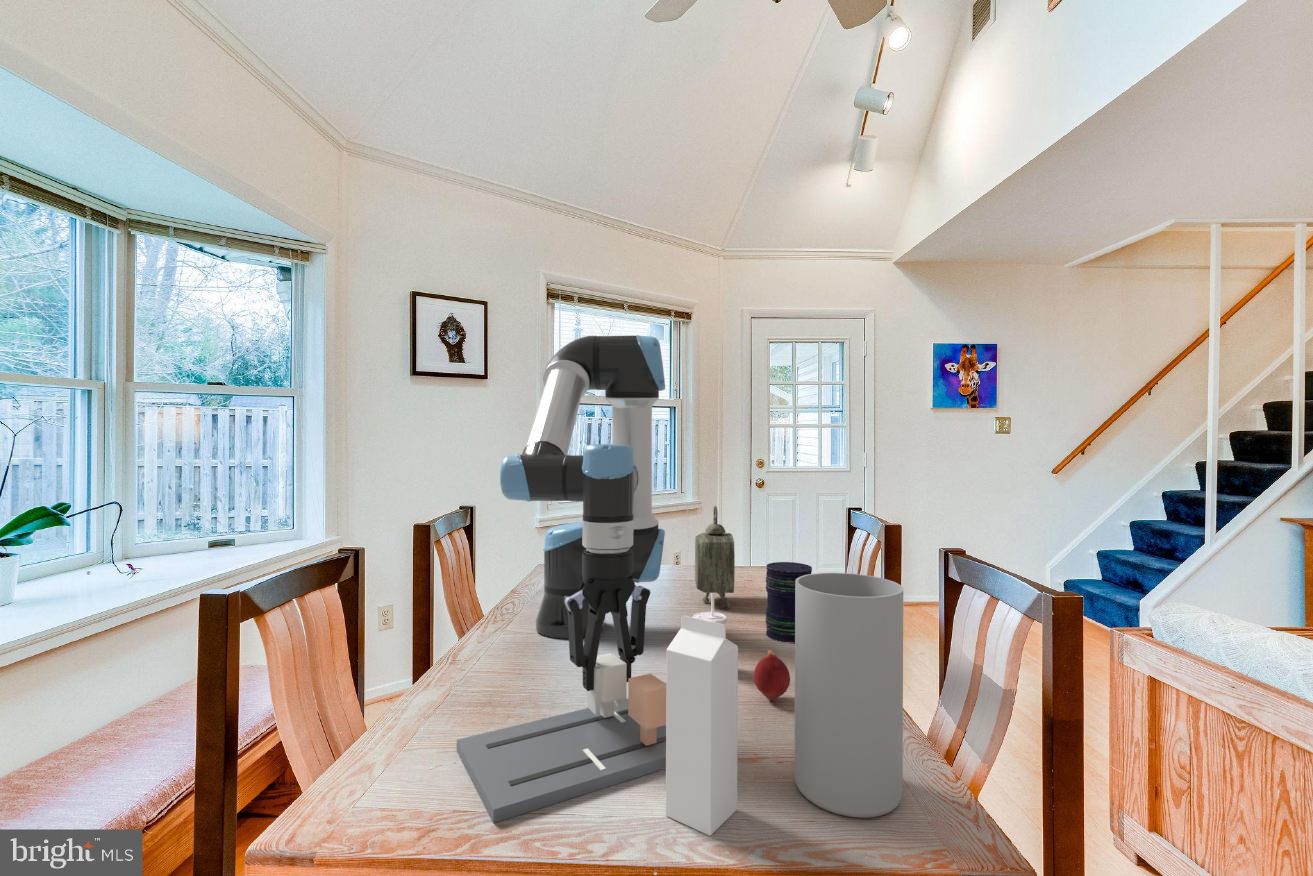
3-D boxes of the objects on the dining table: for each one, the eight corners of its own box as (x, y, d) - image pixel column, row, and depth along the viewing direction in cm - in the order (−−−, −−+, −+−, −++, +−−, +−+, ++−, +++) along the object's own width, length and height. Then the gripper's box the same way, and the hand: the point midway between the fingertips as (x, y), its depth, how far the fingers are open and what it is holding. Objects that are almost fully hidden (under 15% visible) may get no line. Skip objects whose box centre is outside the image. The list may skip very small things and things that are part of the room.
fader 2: (628, 737, 83) (628, 678, 83) (650, 730, 85) (650, 673, 85) (646, 753, 79) (646, 691, 79) (669, 746, 81) (669, 686, 81)
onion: (791, 695, 101) (791, 647, 101) (787, 710, 96) (787, 659, 96) (756, 690, 103) (757, 643, 103) (750, 704, 98) (750, 654, 98)
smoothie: (725, 676, 109) (725, 598, 109) (689, 673, 110) (690, 596, 110) (728, 663, 115) (728, 589, 115) (694, 661, 117) (694, 587, 117)
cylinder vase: (846, 834, 66) (847, 602, 66) (773, 776, 77) (774, 578, 77) (925, 802, 72) (926, 589, 72) (847, 753, 83) (848, 569, 83)
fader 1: (589, 710, 91) (589, 657, 91) (610, 705, 93) (610, 653, 93) (603, 724, 87) (603, 668, 87) (625, 718, 89) (625, 663, 89)
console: (456, 750, 83) (456, 738, 83) (637, 705, 97) (637, 695, 97) (493, 823, 67) (493, 808, 67) (702, 756, 82) (702, 744, 82)
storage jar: (760, 639, 129) (761, 569, 129) (770, 626, 139) (770, 560, 139) (808, 645, 126) (809, 573, 126) (815, 631, 135) (815, 564, 135)
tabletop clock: (734, 611, 150) (734, 509, 150) (697, 611, 150) (698, 509, 150) (728, 596, 165) (728, 503, 165) (694, 595, 165) (695, 503, 165)
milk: (694, 792, 74) (695, 609, 74) (738, 810, 70) (739, 618, 70) (664, 817, 69) (665, 620, 69) (710, 838, 65) (711, 630, 65)
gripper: (564, 558, 83) (563, 731, 83) (669, 547, 91) (668, 705, 91) (545, 549, 89) (544, 710, 89) (644, 540, 97) (643, 687, 98)
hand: (607, 707), depth 90 cm, fingers closed on fader 1, 3 cm apart
